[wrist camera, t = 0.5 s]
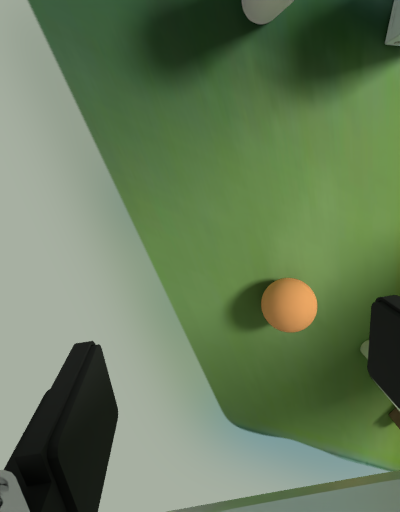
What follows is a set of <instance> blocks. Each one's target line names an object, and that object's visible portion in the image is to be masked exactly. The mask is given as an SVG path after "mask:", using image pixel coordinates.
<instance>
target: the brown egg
mask: <svg viewBox="0 0 400 512" xmlns="http://www.w3.org/2000/svg"><path fill="white" fill-rule="evenodd" d="M261 308H262V312H263V315H264V317H265V319H266V320H267V321H268V323H269V324H270V325H272V326H273V327H274V328H276V329H278V330H280V331H283V332H298V331H301V330H303V329H305V328H306V327H308V326H309V325H310V324H311V323H312V321H313V320H314V318H315V316H316V313H317V300H316V297H315V294H314V293H313V291H312V290H311V288H310V287H309V286H308V285H307V284H305V283H304V282H302V281H300V280H297V279H293V278H283V279H279V280H276V281H274V282H273V283H271V284H270V285H269V286H268V287H267V288H266V290H265V291H264V293H263V296H262V300H261Z"/></svg>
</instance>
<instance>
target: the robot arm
mask: <svg viewBox="0 0 400 512" xmlns="http://www.w3.org/2000/svg"><path fill="white" fill-rule="evenodd" d="M367 367H368V372H369V374H370V376H371V378H372V379H373V380H374V381H375V382H376V383H377V384H378V386H379V387H380V388H381V389H382V390H383V391H384V392H385V393H386V395H387V396H388V397H389V398H390V399H391V400H392V401H393V402H394V404H395V405H396V406H397V407H398V408H399V409H400V297H399V296H397V295H391V296H385V297H379V298H377V299H376V301H375V302H374V303H373V304H372V307H371V321H370V335H369V350H368V365H367ZM117 419H118V408H117V404H116V400H115V396H114V393H113V389H112V385H111V382H110V378H109V374H108V371H107V367H106V363H105V359H104V356H103V352H102V349H101V346H100V345H95V343H94V342H93V341H89V342H83V343H76V344H74V346H73V348H72V350H71V351H70V353H69V355H68V357H67V359H66V361H65V363H64V365H63V367H62V368H61V370H60V372H59V374H58V376H57V378H56V380H55V381H54V383H53V385H52V387H51V389H50V390H48V391H47V392H46V393H45V395H44V397H43V398H42V400H41V402H40V404H39V406H38V408H37V410H36V412H35V413H34V415H33V417H32V419H31V421H30V422H29V424H28V426H27V428H26V430H25V432H24V433H23V435H22V437H21V439H20V441H19V443H18V444H17V446H16V449H15V450H14V452H13V454H12V456H11V457H10V459H9V461H8V463H7V465H6V467H5V468H4V470H0V512H98V508H99V503H100V499H101V494H102V489H103V485H104V480H105V475H106V471H107V466H108V461H109V457H110V452H111V447H112V443H113V438H114V433H115V429H116V424H117ZM168 512H400V470H399V471H393V472H387V473H381V474H375V475H369V476H364V477H358V478H352V479H346V480H341V481H335V482H329V483H324V484H318V485H312V486H306V487H301V488H295V489H290V490H284V491H278V492H272V493H267V494H261V495H256V496H251V497H245V498H239V499H234V500H228V501H223V502H217V503H212V504H207V505H201V506H195V507H190V508H184V509H179V510H173V511H168Z"/></svg>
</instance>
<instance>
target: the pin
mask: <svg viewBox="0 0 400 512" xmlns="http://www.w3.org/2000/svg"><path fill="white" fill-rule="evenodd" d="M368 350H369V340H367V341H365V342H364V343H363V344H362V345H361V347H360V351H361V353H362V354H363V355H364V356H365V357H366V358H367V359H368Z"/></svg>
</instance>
